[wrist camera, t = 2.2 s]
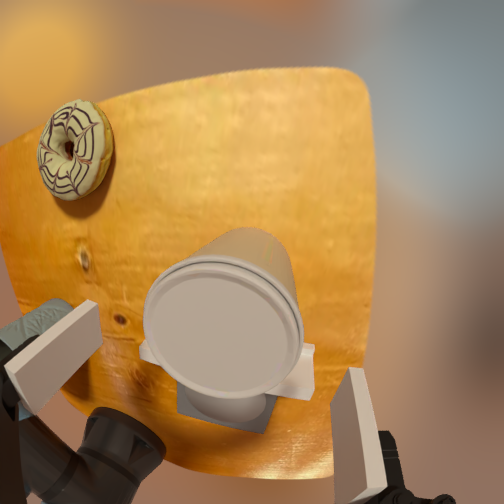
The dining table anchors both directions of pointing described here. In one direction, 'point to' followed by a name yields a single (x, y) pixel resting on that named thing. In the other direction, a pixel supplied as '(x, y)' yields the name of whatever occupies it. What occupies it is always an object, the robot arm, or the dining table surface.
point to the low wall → (292, 386)
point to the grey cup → (32, 324)
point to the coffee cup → (227, 316)
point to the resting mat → (227, 409)
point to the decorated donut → (75, 150)
